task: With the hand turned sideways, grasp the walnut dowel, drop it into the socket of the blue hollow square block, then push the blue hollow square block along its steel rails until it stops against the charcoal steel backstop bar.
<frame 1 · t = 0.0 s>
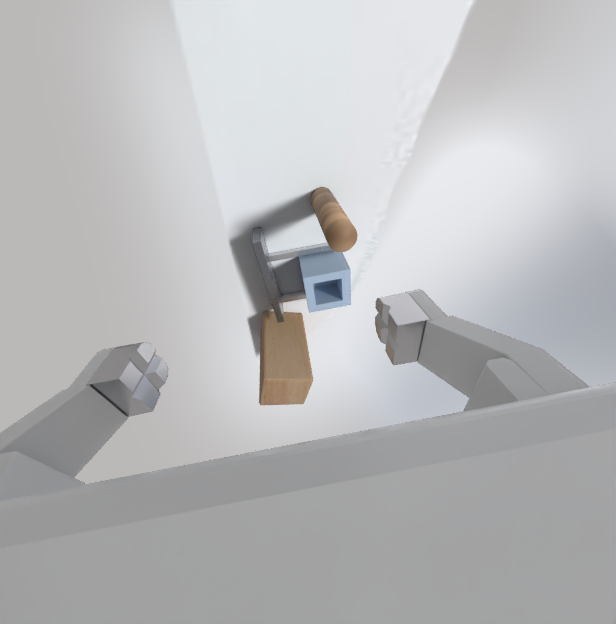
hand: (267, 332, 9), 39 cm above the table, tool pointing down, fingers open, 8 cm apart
dowel: (321, 199, 43), on the table
backstop: (270, 271, 52), on the table
blue hollow square block: (324, 280, 50), point 4 cm above the table, slide at 0.0 cm
wooden block: (280, 324, 64), on the table
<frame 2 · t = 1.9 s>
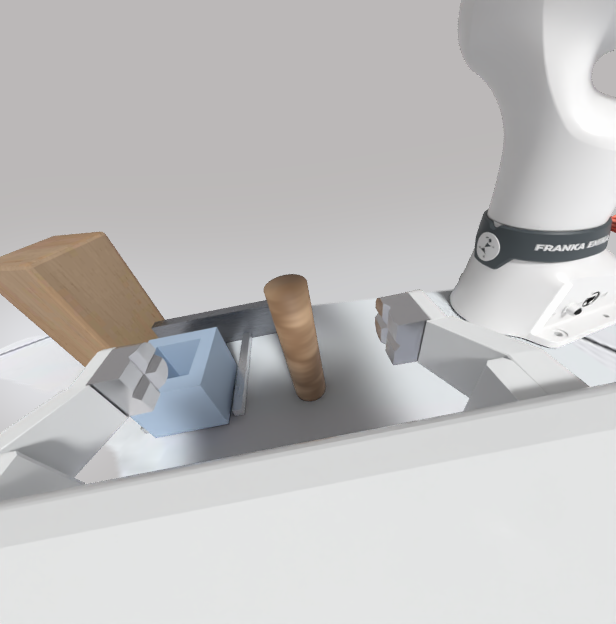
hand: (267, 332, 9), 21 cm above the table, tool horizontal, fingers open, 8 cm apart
dowel: (310, 387, 31), on the table
backstop: (228, 339, 41), on the table
blue hollow square block: (187, 380, 30), point 4 cm above the table, slide at 0.0 cm
wooden block: (136, 353, 42), on the table
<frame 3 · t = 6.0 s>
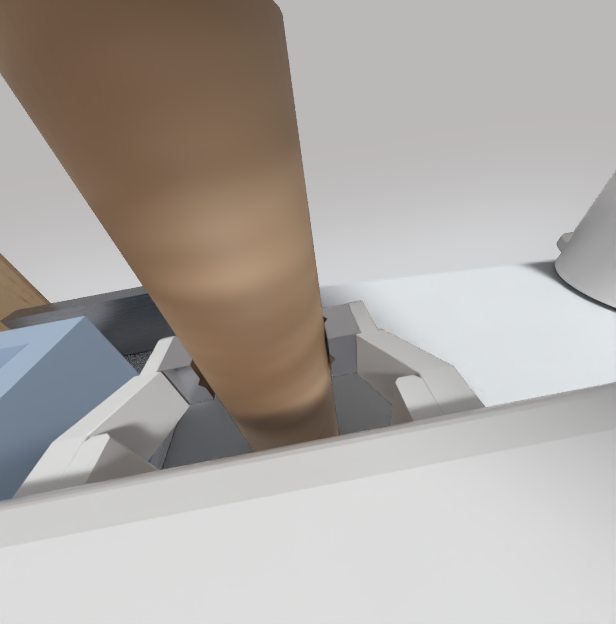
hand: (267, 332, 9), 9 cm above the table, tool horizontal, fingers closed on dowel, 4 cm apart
dowel: (306, 458, 13), on the table, touching gripper
backstop: (163, 343, 23), on the table
wooden block: (7, 367, 24), on the table
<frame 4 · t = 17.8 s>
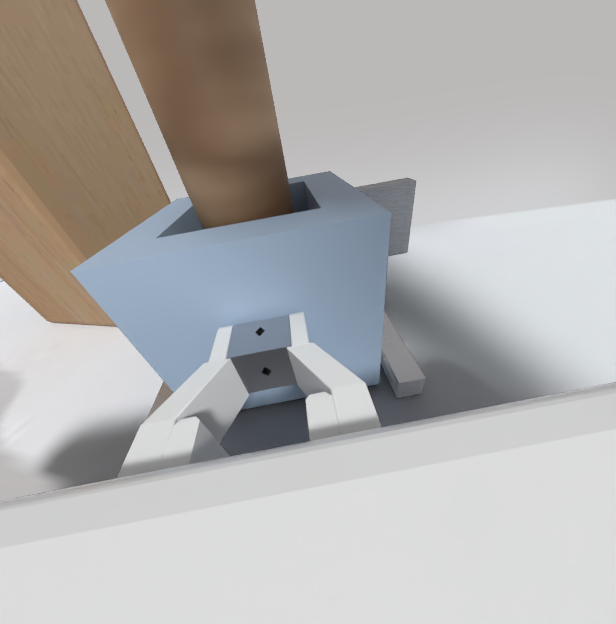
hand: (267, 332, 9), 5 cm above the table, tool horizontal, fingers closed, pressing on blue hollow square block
dowel: (277, 312, 14), point 2 cm above the table, touching blue hollow square block
backstop: (301, 267, 23), on the table
blue hollow square block: (268, 283, 13), point 4 cm above the table, slide at 1.7 cm, touching dowel, gripper
wooden block: (134, 295, 24), on the table
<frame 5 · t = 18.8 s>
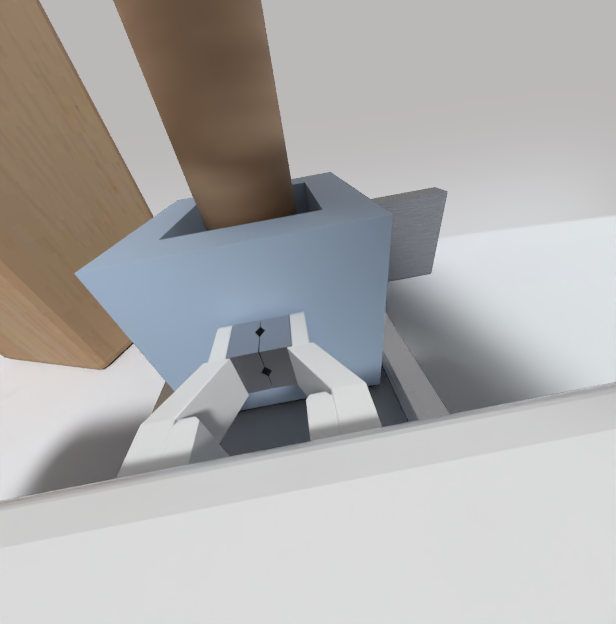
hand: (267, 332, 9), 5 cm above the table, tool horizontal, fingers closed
dowel: (278, 313, 14), point 2 cm above the table, touching blue hollow square block
backstop: (307, 291, 19), on the table
blue hollow square block: (270, 284, 13), point 4 cm above the table, slide at 5.9 cm, touching dowel
wooden block: (113, 322, 20), on the table
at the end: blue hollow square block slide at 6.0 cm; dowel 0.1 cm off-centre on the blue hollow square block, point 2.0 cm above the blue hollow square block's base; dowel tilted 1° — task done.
